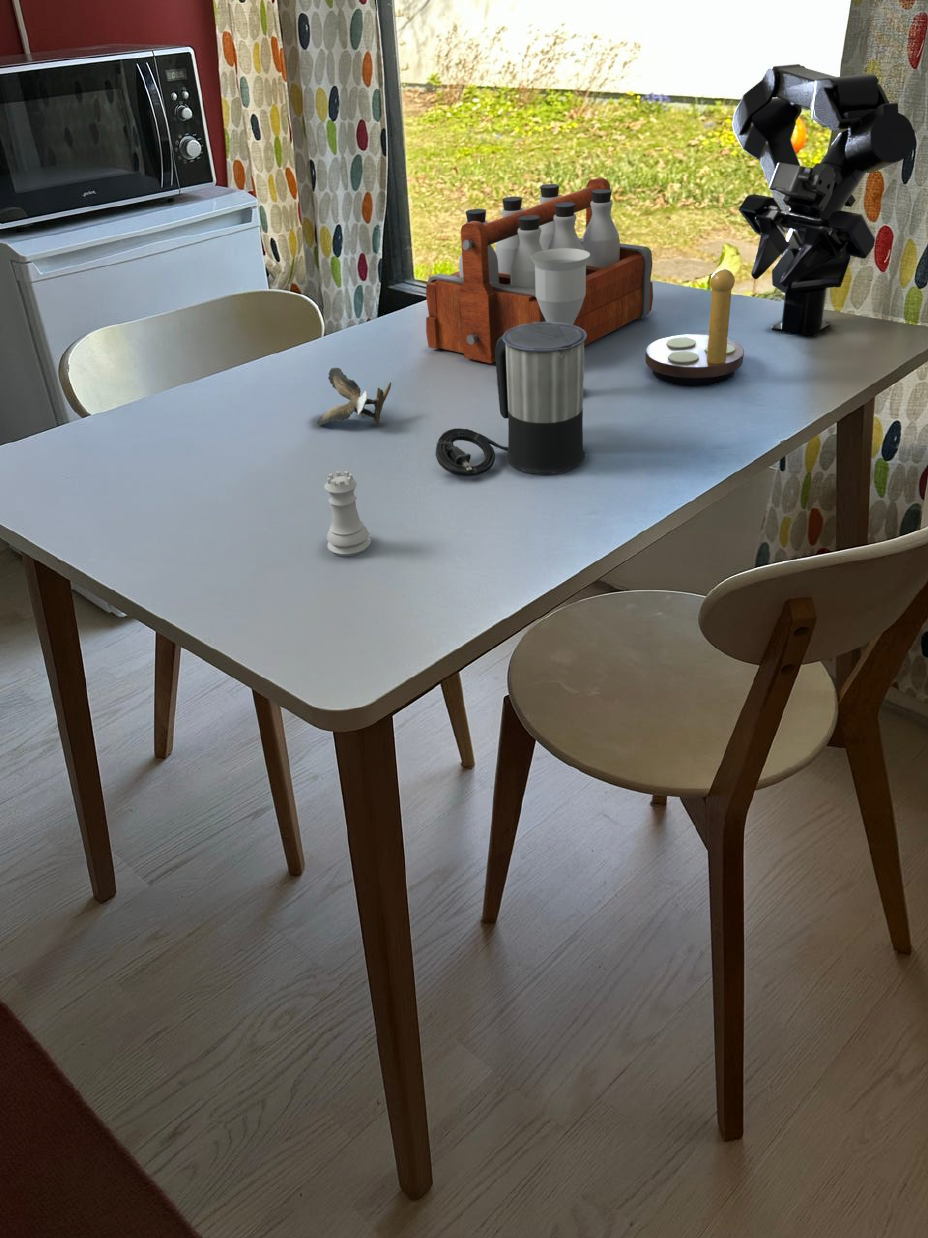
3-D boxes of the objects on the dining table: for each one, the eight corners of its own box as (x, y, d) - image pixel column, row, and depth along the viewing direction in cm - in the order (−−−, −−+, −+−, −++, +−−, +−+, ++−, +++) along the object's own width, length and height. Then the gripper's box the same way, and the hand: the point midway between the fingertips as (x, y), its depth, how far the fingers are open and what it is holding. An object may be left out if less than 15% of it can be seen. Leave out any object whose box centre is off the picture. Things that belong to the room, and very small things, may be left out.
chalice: (588, 384, 139) (590, 247, 129) (589, 403, 134) (590, 261, 124) (534, 385, 140) (531, 249, 130) (532, 404, 135) (529, 263, 125)
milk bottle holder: (416, 354, 154) (404, 218, 143) (552, 292, 176) (551, 170, 165) (530, 380, 142) (526, 234, 131) (661, 310, 164) (667, 180, 153)
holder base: (679, 352, 148) (680, 344, 147) (749, 367, 141) (750, 358, 141) (636, 375, 141) (636, 367, 140) (707, 392, 135) (708, 383, 134)
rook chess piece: (328, 538, 108) (317, 468, 103) (371, 534, 108) (362, 464, 103) (327, 560, 104) (316, 488, 100) (371, 555, 104) (362, 484, 100)
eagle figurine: (396, 400, 136) (333, 384, 137) (388, 368, 129) (322, 351, 131) (376, 448, 133) (311, 432, 135) (367, 418, 126) (300, 401, 128)
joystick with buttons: (678, 339, 148) (683, 243, 141) (760, 355, 140) (771, 255, 133) (626, 366, 140) (629, 266, 133) (711, 385, 133) (719, 280, 125)
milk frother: (602, 455, 120) (604, 330, 112) (511, 505, 112) (506, 372, 103) (512, 426, 129) (508, 308, 121) (421, 470, 120) (409, 345, 112)
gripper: (755, 127, 134) (687, 231, 136) (874, 143, 121) (798, 258, 122) (790, 182, 142) (726, 280, 143) (906, 202, 129) (834, 309, 130)
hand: (767, 281), depth 135 cm, fingers open, 5 cm apart
